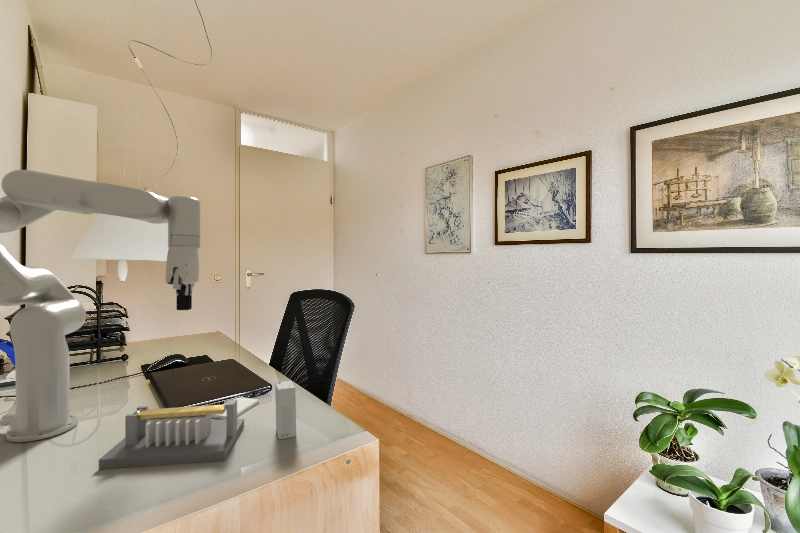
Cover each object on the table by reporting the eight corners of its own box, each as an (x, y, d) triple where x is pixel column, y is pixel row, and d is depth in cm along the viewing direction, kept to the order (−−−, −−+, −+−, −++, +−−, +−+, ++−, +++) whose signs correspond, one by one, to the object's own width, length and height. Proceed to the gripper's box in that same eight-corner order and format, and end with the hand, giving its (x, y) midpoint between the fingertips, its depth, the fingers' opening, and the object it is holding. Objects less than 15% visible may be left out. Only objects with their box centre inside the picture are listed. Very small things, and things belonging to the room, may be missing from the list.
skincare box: (296, 436, 88) (297, 387, 88) (277, 440, 86) (278, 390, 86) (292, 426, 93) (293, 379, 93) (274, 429, 91) (274, 382, 91)
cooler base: (98, 469, 73) (98, 423, 73) (141, 432, 89) (141, 393, 89) (224, 460, 77) (224, 416, 77) (244, 426, 93) (244, 389, 93)
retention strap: (129, 421, 80) (129, 414, 80) (136, 415, 83) (136, 408, 83) (223, 415, 83) (223, 408, 83) (227, 409, 86) (227, 403, 86)
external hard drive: (259, 404, 108) (231, 422, 96) (235, 401, 110) (205, 419, 98) (259, 399, 108) (231, 416, 96) (235, 396, 110) (205, 413, 98)
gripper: (181, 243, 105) (181, 306, 105) (155, 241, 90) (155, 314, 90) (209, 244, 106) (208, 306, 106) (187, 241, 91) (187, 313, 92)
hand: (184, 309), depth 98 cm, fingers closed
